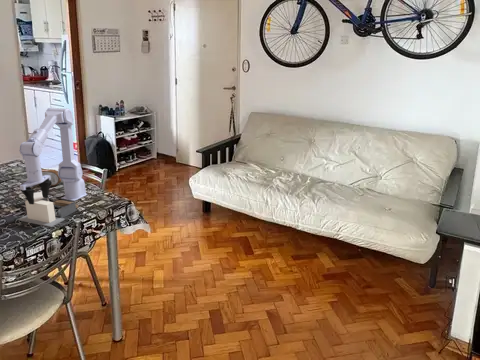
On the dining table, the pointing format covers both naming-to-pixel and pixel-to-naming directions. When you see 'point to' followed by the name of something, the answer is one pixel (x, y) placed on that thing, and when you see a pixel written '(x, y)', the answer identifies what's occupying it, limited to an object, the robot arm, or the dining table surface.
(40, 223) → the mat
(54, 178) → the tin
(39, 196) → the phone case
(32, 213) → the white rectangular block
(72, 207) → the frame
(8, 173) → the dining table surface
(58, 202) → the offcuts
